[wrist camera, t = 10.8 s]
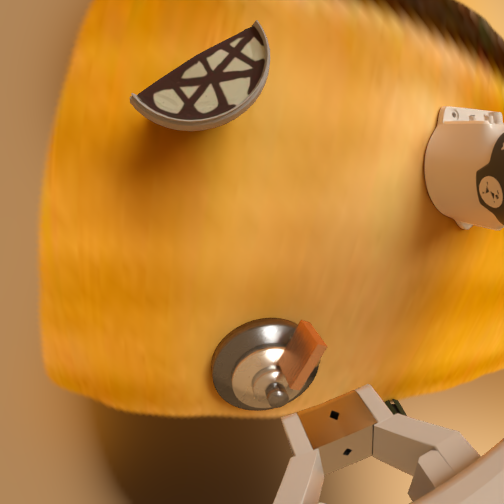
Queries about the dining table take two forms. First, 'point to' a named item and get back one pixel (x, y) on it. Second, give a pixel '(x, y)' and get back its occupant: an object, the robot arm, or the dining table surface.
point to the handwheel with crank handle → (241, 343)
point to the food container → (210, 85)
